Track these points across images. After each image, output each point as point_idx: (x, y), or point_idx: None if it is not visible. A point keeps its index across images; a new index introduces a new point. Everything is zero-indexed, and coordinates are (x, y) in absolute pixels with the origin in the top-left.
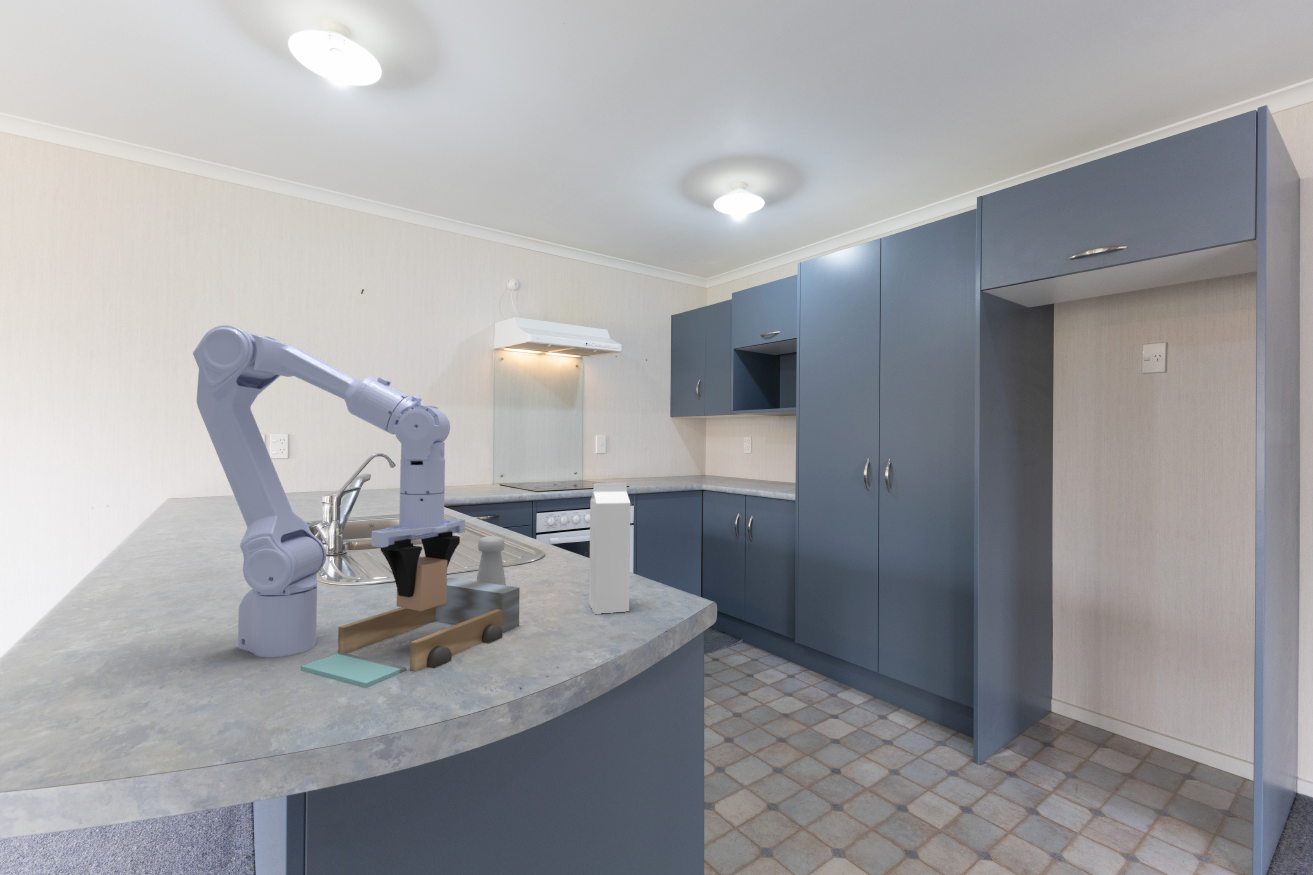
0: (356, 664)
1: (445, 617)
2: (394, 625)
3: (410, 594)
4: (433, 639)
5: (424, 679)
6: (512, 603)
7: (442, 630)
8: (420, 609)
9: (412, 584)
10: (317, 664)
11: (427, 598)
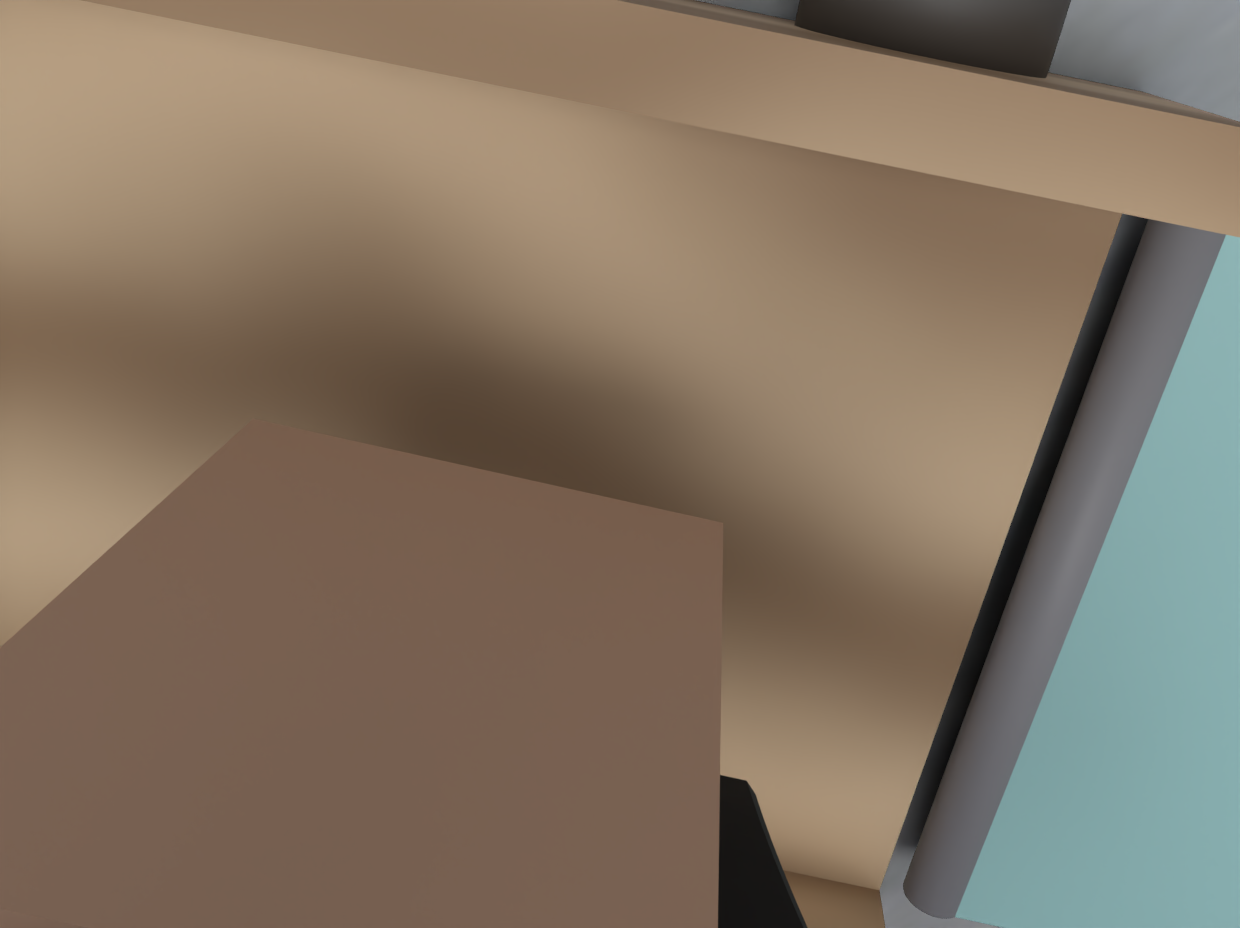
0: (1168, 655)
1: None
2: None
3: (752, 794)
4: (999, 76)
5: (1131, 9)
6: None
7: (755, 113)
8: (717, 538)
9: (748, 889)
10: (1205, 905)
11: (594, 564)
